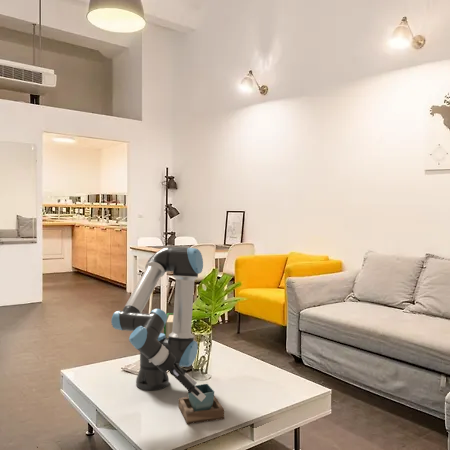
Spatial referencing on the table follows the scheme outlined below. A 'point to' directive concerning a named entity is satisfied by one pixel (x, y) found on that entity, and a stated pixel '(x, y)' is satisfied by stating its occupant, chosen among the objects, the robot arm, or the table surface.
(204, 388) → the flower pot
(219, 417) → the wooden tray
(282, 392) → the table surface
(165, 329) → the hardback book
